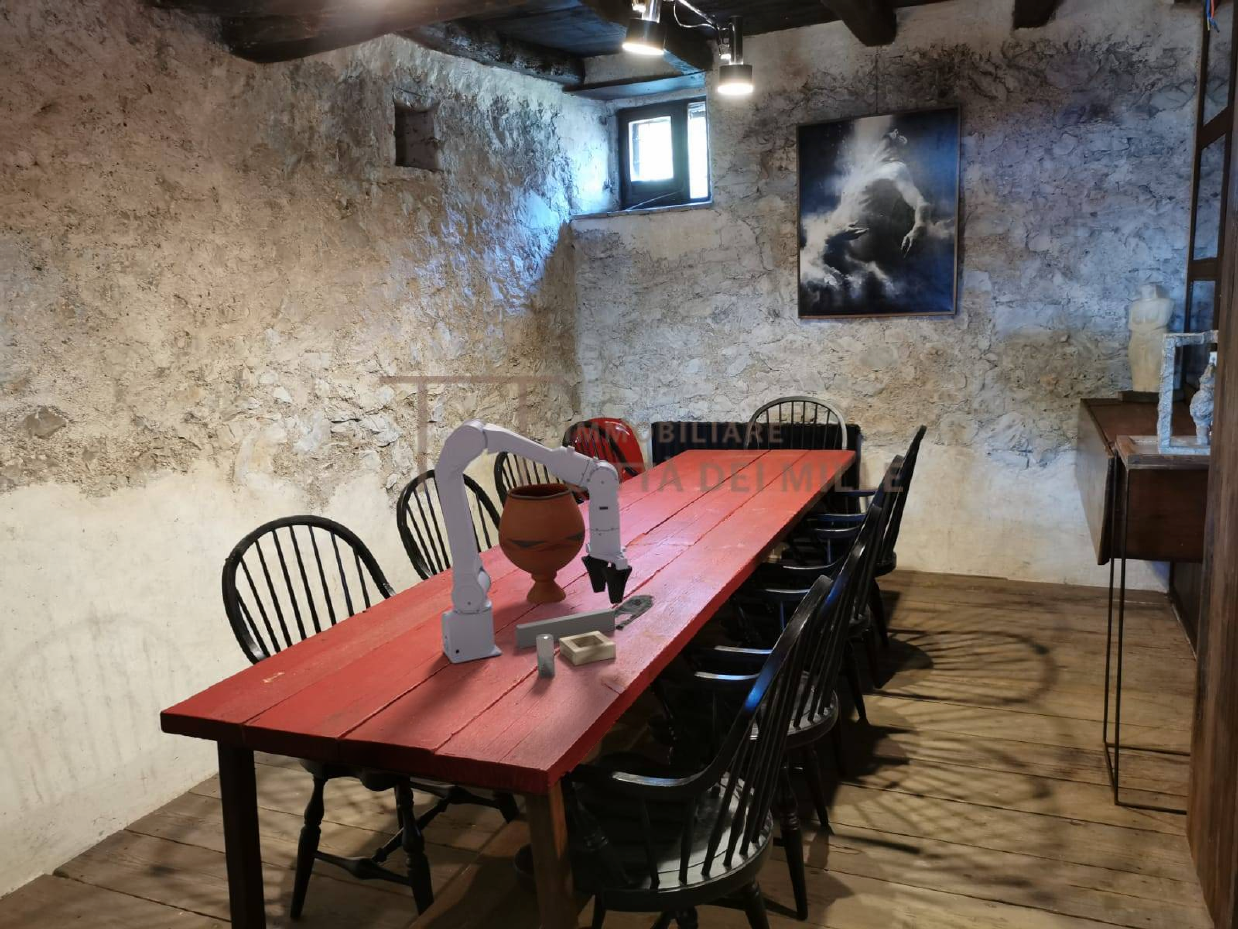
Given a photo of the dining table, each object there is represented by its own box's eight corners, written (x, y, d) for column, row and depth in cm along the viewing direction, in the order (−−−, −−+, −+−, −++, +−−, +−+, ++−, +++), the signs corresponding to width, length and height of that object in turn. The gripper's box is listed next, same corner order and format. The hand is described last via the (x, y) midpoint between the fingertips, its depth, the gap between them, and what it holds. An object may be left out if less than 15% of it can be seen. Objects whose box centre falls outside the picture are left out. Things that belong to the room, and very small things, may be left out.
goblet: (486, 607, 200) (479, 496, 196) (527, 582, 218) (521, 479, 213) (566, 615, 193) (560, 499, 189) (601, 588, 211) (596, 481, 206)
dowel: (541, 679, 160) (539, 641, 159) (535, 673, 163) (533, 636, 162) (557, 675, 162) (555, 638, 160) (551, 670, 164) (549, 633, 163)
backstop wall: (520, 648, 175) (519, 628, 175) (517, 645, 177) (515, 625, 176) (615, 629, 184) (614, 610, 183) (611, 626, 185) (610, 607, 185)
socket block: (575, 665, 166) (575, 652, 165) (559, 651, 173) (559, 638, 172) (616, 656, 169) (615, 644, 169) (598, 643, 176) (598, 630, 176)
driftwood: (637, 597, 205) (636, 588, 204) (664, 601, 202) (664, 591, 201) (592, 629, 187) (592, 619, 186) (622, 633, 184) (621, 623, 183)
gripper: (641, 532, 166) (644, 604, 168) (607, 517, 179) (610, 584, 181) (606, 537, 163) (609, 611, 165) (574, 521, 176) (577, 590, 178)
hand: (607, 597), depth 173 cm, fingers open, 7 cm apart
